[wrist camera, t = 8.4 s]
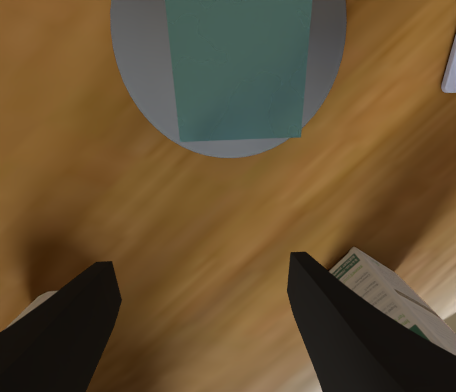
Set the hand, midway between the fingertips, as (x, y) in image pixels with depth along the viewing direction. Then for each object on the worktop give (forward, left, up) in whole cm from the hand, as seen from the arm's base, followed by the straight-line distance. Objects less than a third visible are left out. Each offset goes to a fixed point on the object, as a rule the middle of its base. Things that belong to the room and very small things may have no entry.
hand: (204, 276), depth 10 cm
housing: (-2, -9, -8) cm, 12 cm away
